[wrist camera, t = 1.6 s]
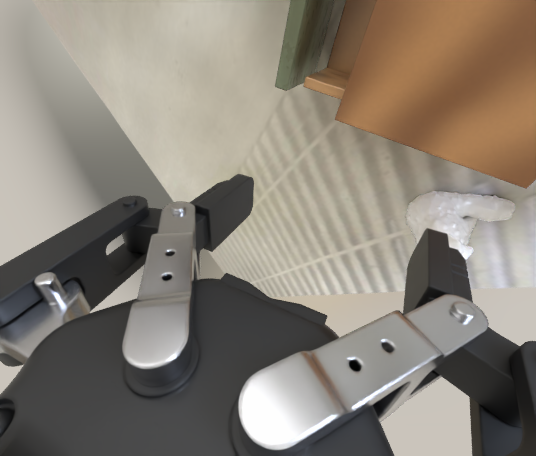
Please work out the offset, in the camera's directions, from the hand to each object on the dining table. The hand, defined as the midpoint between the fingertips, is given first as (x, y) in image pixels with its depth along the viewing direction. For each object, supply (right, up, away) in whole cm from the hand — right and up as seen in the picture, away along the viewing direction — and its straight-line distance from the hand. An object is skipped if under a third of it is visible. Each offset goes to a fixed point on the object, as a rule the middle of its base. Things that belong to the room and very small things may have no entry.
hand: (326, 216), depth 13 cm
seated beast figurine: (+18, +1, +19) cm, 26 cm away
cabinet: (+14, +15, +10) cm, 23 cm away
